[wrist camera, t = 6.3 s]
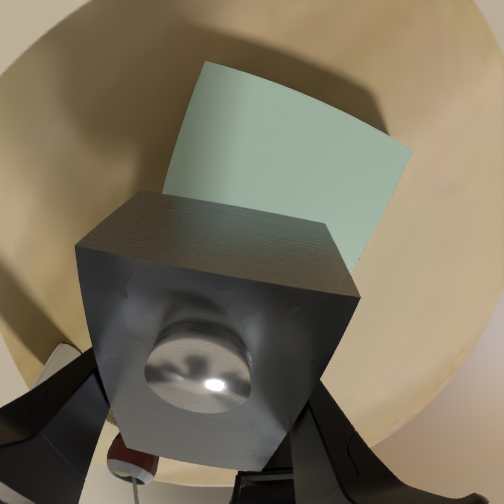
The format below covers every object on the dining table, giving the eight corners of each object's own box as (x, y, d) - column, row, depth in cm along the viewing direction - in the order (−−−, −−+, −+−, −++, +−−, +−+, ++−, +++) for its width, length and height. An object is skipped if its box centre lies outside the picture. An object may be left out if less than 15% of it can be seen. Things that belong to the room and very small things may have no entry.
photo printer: (73, 389, 31) (39, 461, 20) (47, 371, 29) (9, 441, 18) (92, 358, 27) (47, 450, 16) (60, 335, 26) (7, 422, 15)
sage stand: (392, 143, 17) (413, 150, 14) (305, 311, 23) (309, 337, 20) (214, 68, 15) (205, 60, 12) (155, 262, 21) (141, 284, 18)
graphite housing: (261, 403, 14) (260, 486, 10) (147, 383, 13) (122, 461, 9) (325, 223, 9) (372, 322, 5) (141, 190, 9) (54, 264, 5)
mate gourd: (116, 415, 32) (85, 506, 19) (171, 432, 33) (150, 528, 20) (120, 435, 36) (96, 514, 22) (168, 450, 36) (151, 532, 23)
